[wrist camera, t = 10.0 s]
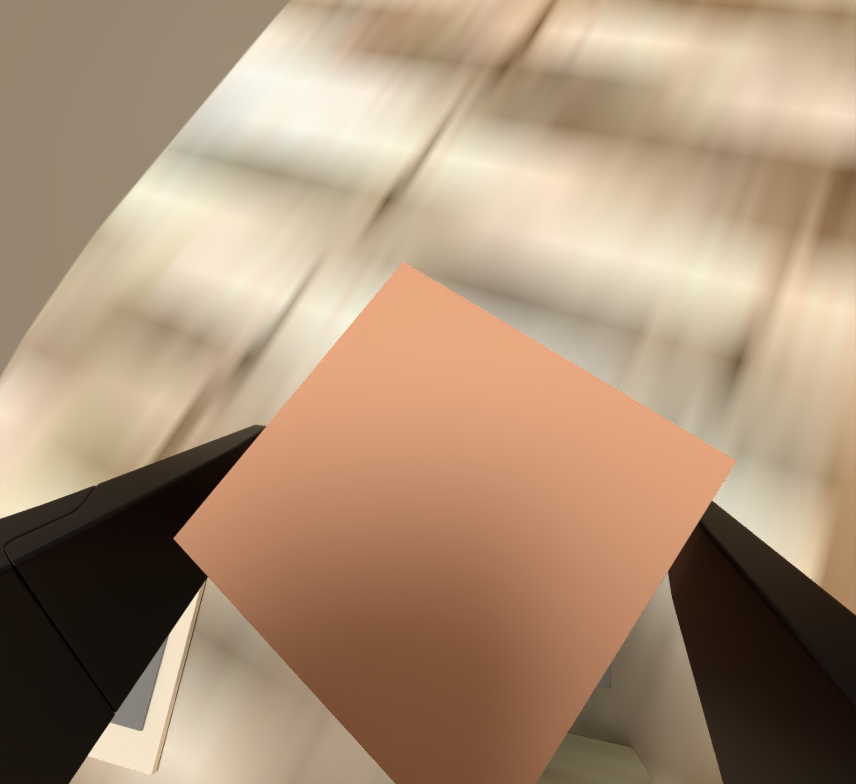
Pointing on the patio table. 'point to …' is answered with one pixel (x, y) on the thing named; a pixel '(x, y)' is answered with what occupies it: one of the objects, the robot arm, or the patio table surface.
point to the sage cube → (593, 763)
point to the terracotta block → (452, 534)
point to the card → (149, 703)
